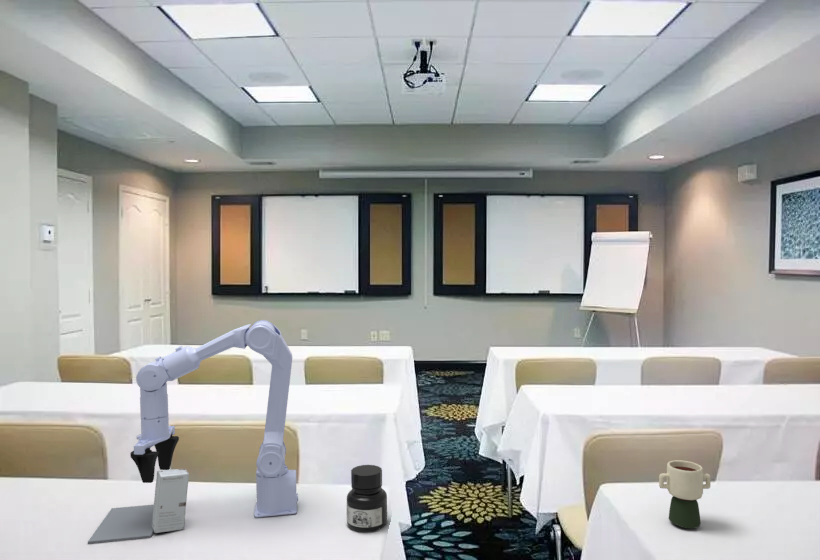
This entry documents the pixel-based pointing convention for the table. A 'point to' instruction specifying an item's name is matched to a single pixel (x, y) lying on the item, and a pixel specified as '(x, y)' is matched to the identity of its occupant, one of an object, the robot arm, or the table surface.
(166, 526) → the skincare box
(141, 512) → the slate mat
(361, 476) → the ink bottle
